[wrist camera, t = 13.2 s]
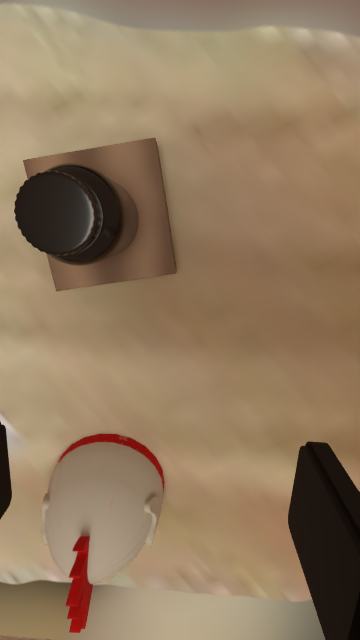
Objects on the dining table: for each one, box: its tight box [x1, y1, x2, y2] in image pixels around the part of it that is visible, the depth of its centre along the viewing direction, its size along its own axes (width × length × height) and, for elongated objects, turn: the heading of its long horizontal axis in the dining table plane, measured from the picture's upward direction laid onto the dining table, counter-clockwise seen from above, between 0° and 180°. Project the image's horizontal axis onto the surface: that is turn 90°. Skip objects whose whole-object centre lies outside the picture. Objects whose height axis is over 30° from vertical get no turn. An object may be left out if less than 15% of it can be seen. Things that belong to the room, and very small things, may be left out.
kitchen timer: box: [41, 434, 164, 633], centre depth 34 cm, size 14×14×15 cm
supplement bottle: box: [14, 163, 139, 266], centre depth 25 cm, size 7×7×12 cm
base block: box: [23, 138, 177, 291], centre depth 32 cm, size 12×12×3 cm
